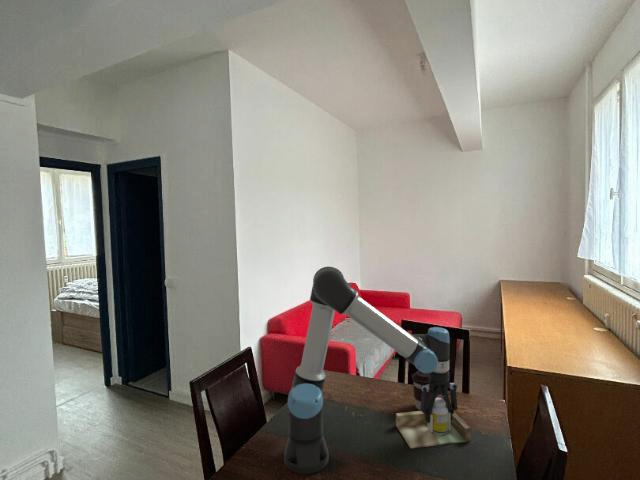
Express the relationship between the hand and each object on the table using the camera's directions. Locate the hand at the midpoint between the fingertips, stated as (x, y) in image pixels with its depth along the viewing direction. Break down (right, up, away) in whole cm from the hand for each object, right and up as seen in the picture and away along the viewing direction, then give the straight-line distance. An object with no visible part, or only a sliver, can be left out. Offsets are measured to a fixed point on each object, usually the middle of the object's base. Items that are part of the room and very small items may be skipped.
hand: (438, 429), depth 130 cm
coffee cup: (0, -1, +18) cm, 18 cm away
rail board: (-3, -1, 0) cm, 4 cm away
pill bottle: (0, -1, 0) cm, 1 cm away
